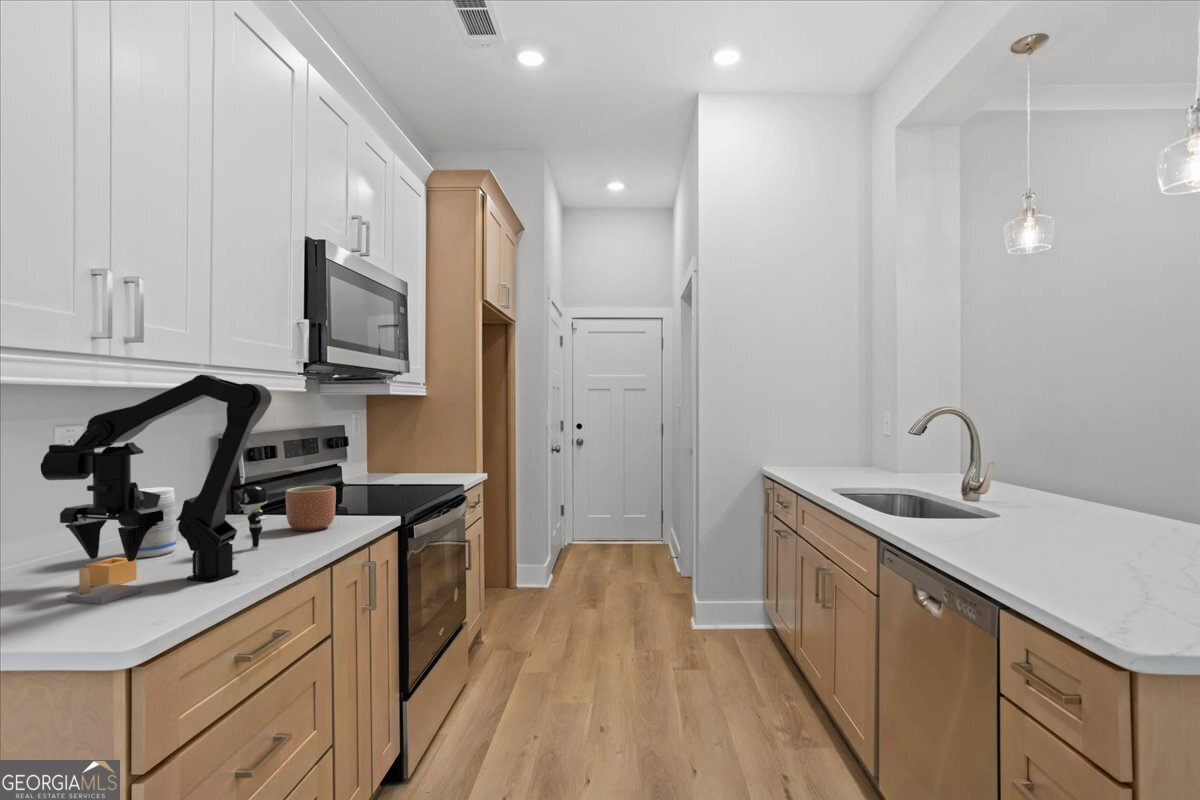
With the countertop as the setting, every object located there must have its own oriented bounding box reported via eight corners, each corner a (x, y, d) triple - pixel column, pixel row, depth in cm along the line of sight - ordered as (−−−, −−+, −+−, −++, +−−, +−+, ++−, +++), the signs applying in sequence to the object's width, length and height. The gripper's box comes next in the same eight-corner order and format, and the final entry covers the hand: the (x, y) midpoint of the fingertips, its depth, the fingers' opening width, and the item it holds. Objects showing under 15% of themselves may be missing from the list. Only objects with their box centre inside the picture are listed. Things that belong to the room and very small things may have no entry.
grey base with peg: (141, 591, 112) (141, 561, 112) (102, 604, 105) (102, 572, 105) (107, 588, 114) (107, 559, 114) (66, 600, 107) (66, 569, 107)
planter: (332, 522, 176) (332, 484, 176) (339, 530, 165) (339, 489, 165) (283, 527, 169) (283, 487, 169) (288, 535, 159) (287, 493, 159)
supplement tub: (185, 548, 145) (184, 486, 145) (158, 558, 136) (158, 492, 136) (142, 549, 144) (142, 487, 145) (112, 559, 135) (112, 492, 135)
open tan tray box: (136, 579, 120) (136, 558, 120) (108, 587, 114) (108, 566, 114) (115, 577, 121) (115, 557, 121) (86, 585, 116) (86, 564, 116)
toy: (233, 546, 147) (232, 483, 147) (261, 542, 151) (261, 481, 151) (246, 556, 137) (246, 489, 137) (276, 552, 141) (276, 486, 141)
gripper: (188, 474, 123) (189, 552, 123) (116, 472, 128) (116, 547, 128) (134, 482, 113) (135, 566, 113) (57, 479, 117) (58, 561, 117)
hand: (112, 559), depth 118 cm, fingers open, 9 cm apart
